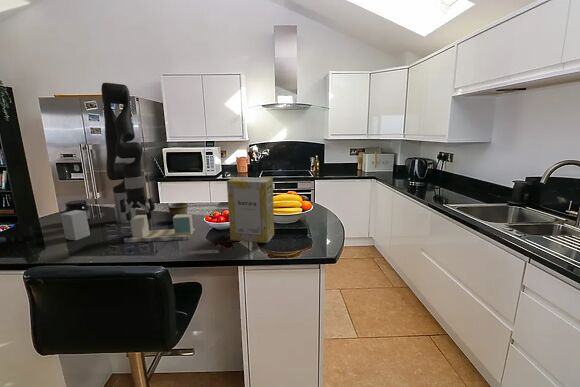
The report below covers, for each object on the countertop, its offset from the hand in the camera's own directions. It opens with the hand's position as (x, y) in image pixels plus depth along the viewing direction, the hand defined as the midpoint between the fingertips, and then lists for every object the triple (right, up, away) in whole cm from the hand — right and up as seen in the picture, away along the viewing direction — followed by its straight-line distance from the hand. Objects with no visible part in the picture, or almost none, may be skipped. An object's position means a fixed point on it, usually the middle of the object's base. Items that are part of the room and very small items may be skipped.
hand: (139, 220), depth 131 cm
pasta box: (+53, -9, +2) cm, 54 cm away
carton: (0, -7, +2) cm, 8 cm away
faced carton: (+20, -7, +3) cm, 21 cm away
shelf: (+10, -9, +3) cm, 13 cm away
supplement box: (-33, -9, +5) cm, 34 cm away
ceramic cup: (+8, -4, +26) cm, 27 cm away
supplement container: (-48, -4, +27) cm, 55 cm away
